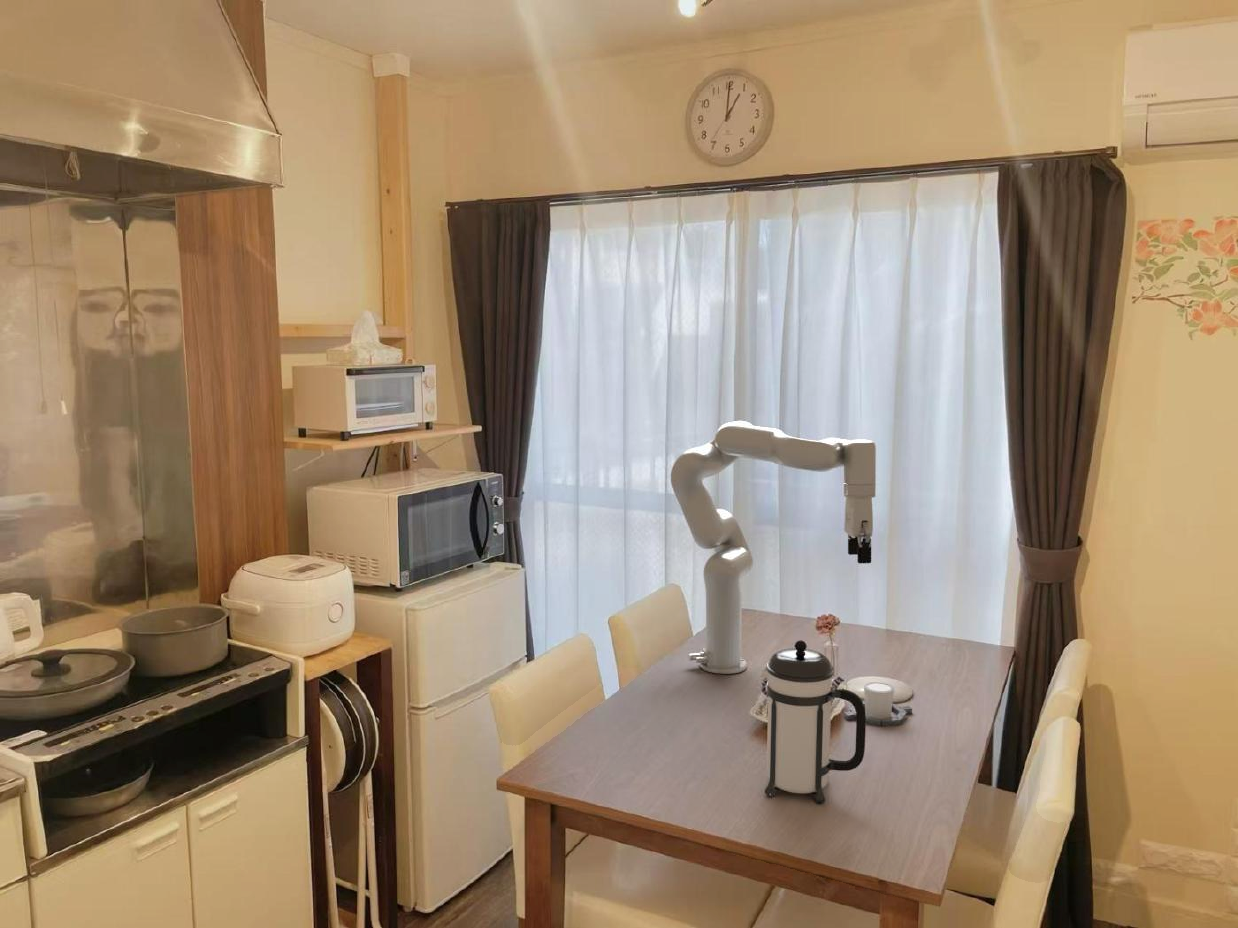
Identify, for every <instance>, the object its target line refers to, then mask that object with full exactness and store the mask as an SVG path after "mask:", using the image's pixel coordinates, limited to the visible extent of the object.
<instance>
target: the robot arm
mask: <svg viewBox="0 0 1238 928" xmlns="http://www.w3.org/2000/svg"><path fill="white" fill-rule="evenodd" d="M876 452H877V447H876V443H875V442H874V441H873V440H870V439H869V440H868V439H851V440H849V439H841V438H836V437H828V438H825V439H821V440H813V439H812V440H811V439H805V438H798V437H793V436H789V435H787V434H785V433H784V432H783V431H782V430H780V429H778V428H771V427H763V426H756V425H753V424H751V423H750V422H747V421H744V420H737V421H733V422H727V423H725V424H722V425H721V426H720V427H719V428H718V430H717V431H716V433H715V436H714V438H713V439H712V440H710V441H709V442H708V443H706V444H704V445H701V446H697V447H693V448H690V449H688V450H686V451H685V452H683V453H682V454H681V455H679V456H678V457H677V459H676V460H675V462H674V464H673V465H672V468H671V471H670V483H671V488H672V490H673V493H674V496H675V498H676V500H677V502H678V503H679V506H680V509H681V511H682V513H683V516H684V519H685V520H686V523H687V526H688V528H689V530H690V533H691V535H692V539H693V540H694V542H695V544H696V545H697V546H698V547H699V548H701V549H703V550H712V549H714V551H715V553H714V554H712V555H711V556H710V557H709V558H708V559H707V561H706V562H705V563H704V567H703V582H704V587H705V647H703V648H702V651H699V652H698V653H688V655H687V658H688V661H689V662H694V661H695V663H698V664H699V666H700V668H701V669H702V670H703V671H706V672H709V673H712V674H720V675H731V674H738V673H741V672H743V671H745V670H746V669H747V666H748V665H747V661H746V660H745V659H744V658H742V620H743V619H742V615H743V614H742V609H743V608H742V606H743V604H742V592H741V586H740V583H741V582H740V581H742V580H743V579H745V578H747V576H748V575H749V574H750V573H751V571H752V569H753V567H754V561H753V555H752V553H751V551H750V548H749V546H748V543H747V541H746V540H747V539H746V538H745V536H744V534H743V531H742V529H741V526H740V524H739V522H738V521H737V518H735V516H734V515H733V514H732V513H731V512H730V511H728V510H726V509H723V508H716V506H715V504H714V502H713V499H712V496H711V495H710V492H709V491H708V489H707V488H706V487H705V485H704V484H703V480H705V478H709V477H713V476H715V475H717V474H720V473H721V472H723V471H724V470H725V469H727V468H728V467H729V466H731V465H732V464H734V463H735V462H736V461H737V460H739V459H741V458H744V459H750V460H751V459H752V460H756V461H763V462H770V463H774V464H776V465H781V466H784V467H788V468H793V469H796V470H804V471H810V472H817V473H823V472H828V471H831V470H833V469H836V468H837V469H838V468H843V497H845V503H844V504H845V505H844V508H845V509H844V528H843V529H844V532H845V534H847V553H848V555H849V556H851V555H852V556H853V555H854V556H855V555H857V563H858V564H871V563H872V538H871V537H872V536H873V530H874V525H873V524H874V522H873V521H874V519H873V517H874V516H873V498H875V497H876V486H877V485H876V482H877V481H876V477H877V476H876V471H877V470H876V467H877V457H876V456H877V453H876Z"/></svg>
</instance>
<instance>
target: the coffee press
mask: <svg viewBox="0 0 1238 928" xmlns="http://www.w3.org/2000/svg"><path fill="white" fill-rule="evenodd" d="M807 646H808V645H807V644H806V642H805V641H804V640H797V641H796V642H795V643H794V647H792V648H785V649H782V650H779V651H776V652H775V653H774V654H773V655H772V656H771V657H770V659H769V661H768V662H767V663H766V667H765V668H764V669H763V670H762V671H761V673H760V674H759V678H764V679H765V678H766V679H767V683H766V694H767V734H766V735H767V738H766V740H767V741H766V747H767V748H766V751H767V752H766V775H767V778H768V780H769V782H768V783H767V785H766V788H765V789H764V794H765V795H767V796H768V797H769V798H773V797H775V796H776V794H777V793H778V792H779V791H780V790H783V791H786V792H789V793H794V794H811V796H812V798H813V799H814V800H813V801H814V802H815V803H816V804H817V805H819V804H822V803H825V802H826V798H825V795H824V792H823V790H822V789H824V788H825V786H827V784H828V783H829V779H830V775H829V774H830V771H838V772H839V771H840V772H841V771H843V772H844V771H845V772H846V771H852V770H855V769H856V768H858V767H859V766H860V765H861V763H862V761H863V759H864V756H865V750H866V747H865V746H866V728H867V727H866V725H867V723H866V710H865V707H864V704H863V702H862V701H863V699H860V698H859V696H858V695H856V694H855V693H853V692H851V691H849V690H847V689H846V688H845V689H843V688H841V689H838V688H837V689H836V688H833V685H832V681H833V676H834V674H835V668H834V666H833V665H832V663H831V661H830V659H829V658H828V657H827V656H826V655H825V654H823V653H822V652H820V651H816V650H813V649H809V648H807ZM833 698H835V699H840V700H844V701H848V702H849V703H851V705H852V706H854V708H855V710H856V719H855V720H856V721H855V722H856V723H855V724H856V726H855V727H856V728H855V749H854V750H855V751H854V754H853V756H852V757H851V758H850V759H848V760H837V759H836V760H835V759H833V758H832V759H831V756H830V750H831V749H830V746H831V721H832V720H831V713H832V700H833Z"/></svg>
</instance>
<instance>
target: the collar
mask: <svg viewBox="0 0 1238 928" xmlns="http://www.w3.org/2000/svg"><path fill="white" fill-rule="evenodd" d="M862 702H863V704H864V707H865V700H862ZM891 712H893V713H894V714H896V716H895V717H890V718H885V719H879V718H874V717H869V716H866V725H867V724H868V725H872V726H877V727H889V726H890V727H891V726H900V725H902V724H903V723H904V722H905V720H906V719H907V715H911V714H910V713H912V714H913V708H912V707H910V705H902V706H899V705H898V704H895V703H892V710H891ZM843 718H844V719H845V720H846V721H853V720H856V710H855V708H854V706H853V705H852V706H851V707H850V708H849V711H843Z"/></svg>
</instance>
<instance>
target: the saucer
mask: <svg viewBox="0 0 1238 928" xmlns="http://www.w3.org/2000/svg"><path fill="white" fill-rule="evenodd" d="M871 682H881V683H886V684H889V685H891V686H893V687H894V695H893V704H895V703H896V704H897V703H902V702H905V701H909V699H911V698H912V697H913V688H912V687H911V685H909V684H908V683H905V682H904V681H901V680H898V679H894V678H890V677H884V676H872V675H871V676H858V677H855V678H851V679H849V680H848V681H847V683H846V684H847V685H848V687H849V691H851V692H853V693H855V694H856V695H858V696H859V698H860V699H861V700H862V701H865V694H864V685H865V684H867V683H871Z"/></svg>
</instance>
